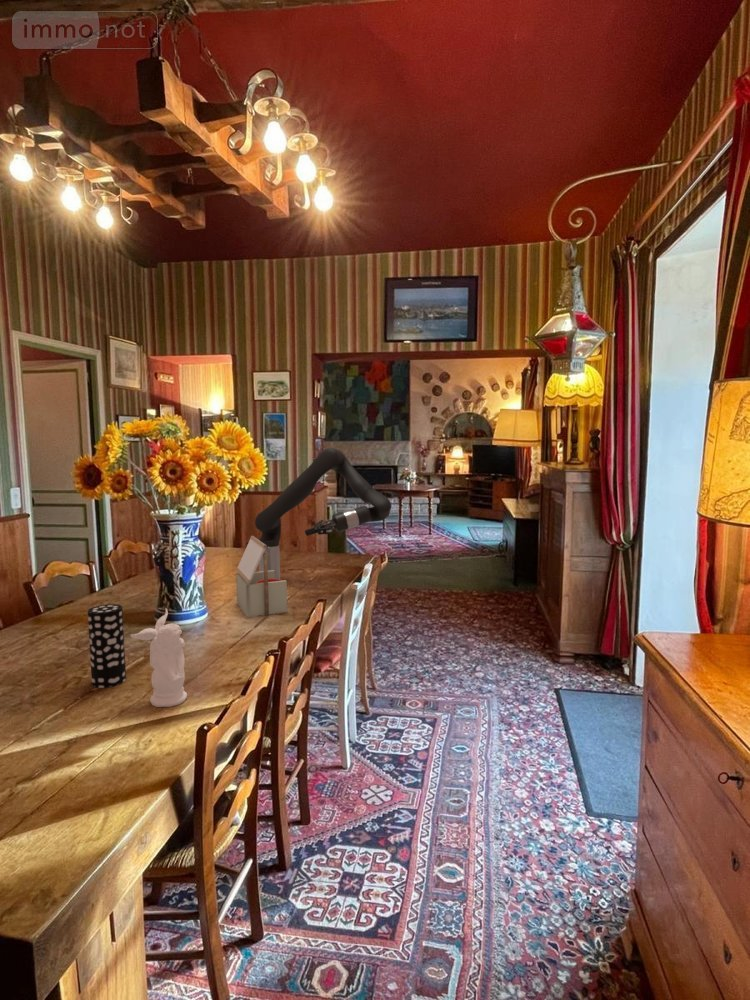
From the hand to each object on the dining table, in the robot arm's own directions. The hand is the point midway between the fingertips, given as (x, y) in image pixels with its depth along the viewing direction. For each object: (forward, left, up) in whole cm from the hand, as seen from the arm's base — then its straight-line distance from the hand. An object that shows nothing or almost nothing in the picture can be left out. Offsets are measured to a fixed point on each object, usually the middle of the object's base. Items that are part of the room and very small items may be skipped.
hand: (305, 533), depth 224 cm
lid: (+2, -22, -8) cm, 24 cm away
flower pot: (+2, -15, -28) cm, 32 cm away
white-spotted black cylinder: (+52, -72, -28) cm, 93 cm away
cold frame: (+2, -19, -28) cm, 34 cm away
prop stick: (+13, -20, -28) cm, 36 cm away
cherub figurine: (+70, -60, -28) cm, 96 cm away
